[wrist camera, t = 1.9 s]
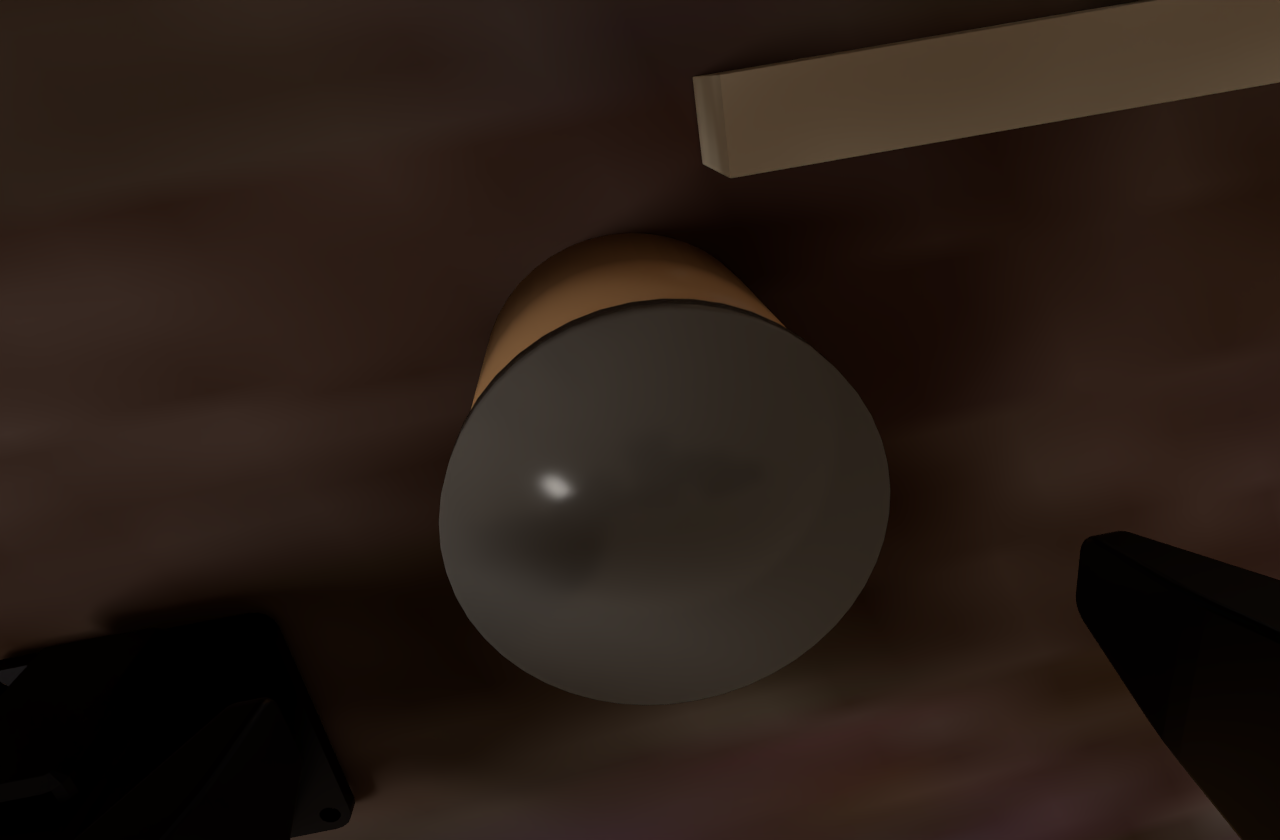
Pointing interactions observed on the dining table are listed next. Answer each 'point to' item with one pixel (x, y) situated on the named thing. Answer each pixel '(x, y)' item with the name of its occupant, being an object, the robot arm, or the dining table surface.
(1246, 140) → the dining table surface
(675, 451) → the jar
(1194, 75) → the tan piece
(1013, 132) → the dining table surface
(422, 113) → the dining table surface
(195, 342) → the dining table surface
